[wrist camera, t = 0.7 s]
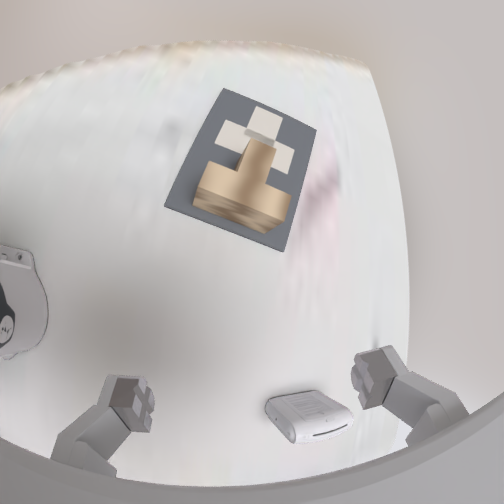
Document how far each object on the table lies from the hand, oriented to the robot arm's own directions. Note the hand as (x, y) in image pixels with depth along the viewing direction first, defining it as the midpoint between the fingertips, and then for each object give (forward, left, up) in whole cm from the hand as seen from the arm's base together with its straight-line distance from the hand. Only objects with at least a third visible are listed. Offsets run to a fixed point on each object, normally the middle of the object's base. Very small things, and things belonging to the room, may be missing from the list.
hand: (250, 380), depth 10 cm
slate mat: (+1, +27, -31) cm, 41 cm away
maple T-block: (+1, +20, -31) cm, 37 cm away
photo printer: (+21, -10, -32) cm, 39 cm away
